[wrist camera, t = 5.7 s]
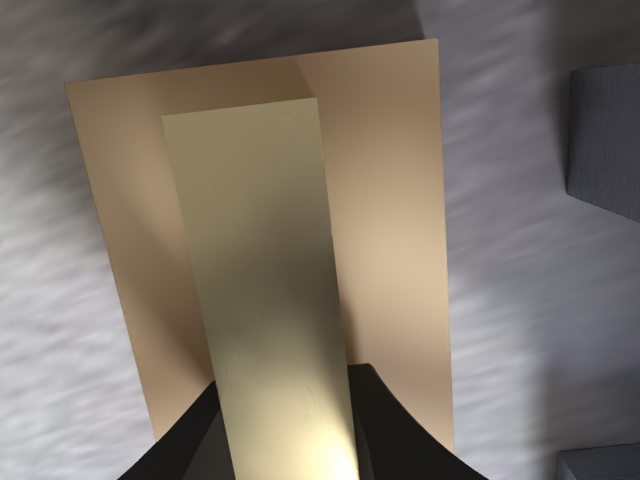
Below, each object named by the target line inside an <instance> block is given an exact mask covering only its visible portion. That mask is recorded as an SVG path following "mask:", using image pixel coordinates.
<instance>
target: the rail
mask: <svg viewBox="0 0 640 480" xmlns="http://www.w3.org/2000/svg"><path fill="white" fill-rule="evenodd" d="M161 117H162V121H163V126H164V131H165V136H166V141H167V146H168V151H169V156H170V161H171V165H172V170H173V175H174V180H175V185H176V190H177V195H178V200H179V204H180V209H181V214H182V219H183V224H184V229H185V234H186V239H187V244H188V248H189V253H190V258H191V263H192V268H193V273H194V278H195V283H196V288H197V292H198V297H199V302H200V307H201V312H202V317H203V322H204V327H205V331H206V336H207V341H208V346H209V351H210V356H211V361H212V366H213V371H214V375H215V380H216V385H217V390H218V395H219V400H220V405H221V410H222V414H223V419H224V424H225V429H226V434H227V439H228V444H229V449H230V454H231V458H232V463H233V468H234V473H235V478H236V480H360V479H359V470H358V461H357V452H356V443H355V434H354V425H353V416H352V407H351V398H350V389H349V380H348V371H347V362H346V353H345V344H344V335H343V327H342V318H341V309H340V300H339V291H338V282H337V273H336V264H335V255H334V246H333V237H332V228H331V219H330V210H329V201H328V192H327V183H326V174H325V165H324V157H323V148H322V139H321V130H320V121H319V112H318V103H317V97H308V98H299V99H291V100H283V101H274V102H266V103H258V104H249V105H241V106H233V107H224V108H216V109H208V110H199V111H192V112H185V113H178V114H171V115H164V116H161Z"/></svg>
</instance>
